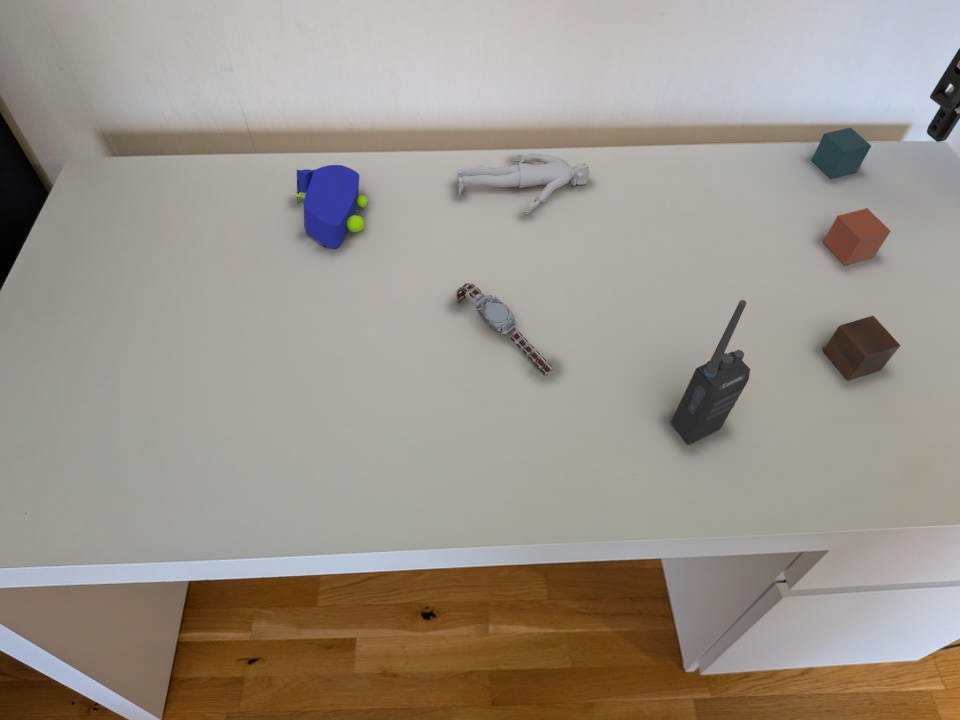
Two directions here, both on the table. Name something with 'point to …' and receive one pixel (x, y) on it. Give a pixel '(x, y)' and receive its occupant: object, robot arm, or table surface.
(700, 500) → the table surface
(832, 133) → the teal block
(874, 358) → the walnut block
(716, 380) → the walkie-talkie
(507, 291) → the table surface
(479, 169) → the figurine
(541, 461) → the table surface
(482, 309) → the wristwatch
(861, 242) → the terracotta block
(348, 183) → the toy
